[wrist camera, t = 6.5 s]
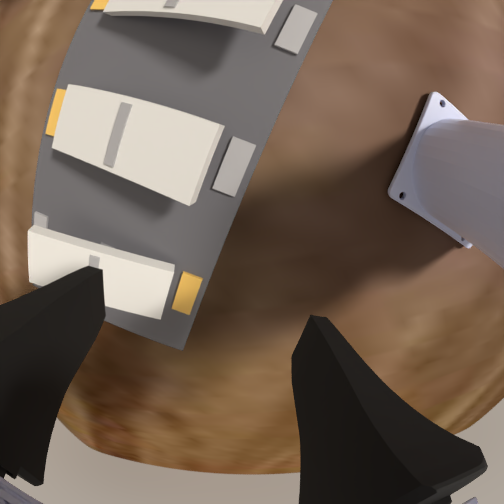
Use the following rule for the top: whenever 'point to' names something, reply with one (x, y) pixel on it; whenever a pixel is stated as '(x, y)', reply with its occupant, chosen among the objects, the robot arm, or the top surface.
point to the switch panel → (183, 99)
